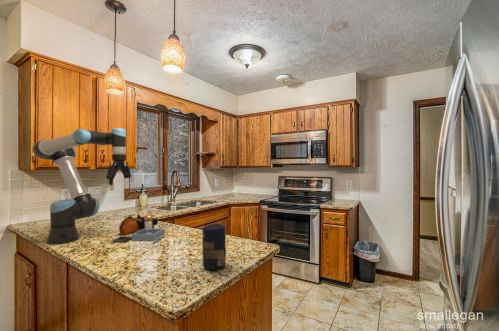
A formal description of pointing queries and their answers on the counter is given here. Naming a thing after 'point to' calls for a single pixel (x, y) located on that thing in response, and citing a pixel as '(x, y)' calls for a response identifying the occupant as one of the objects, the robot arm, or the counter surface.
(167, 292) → the counter surface
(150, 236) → the bin
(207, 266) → the canister
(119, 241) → the collar plate
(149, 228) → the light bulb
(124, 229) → the tool
